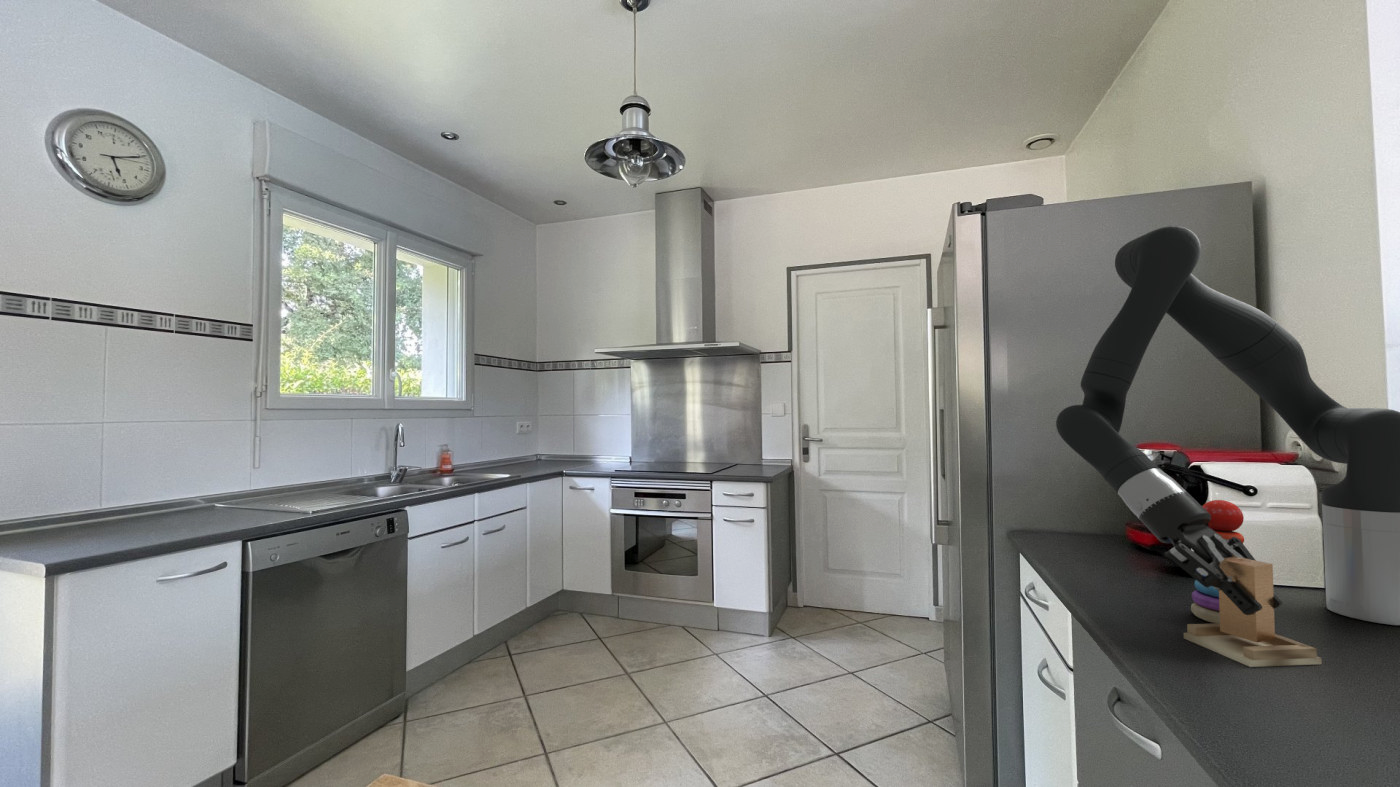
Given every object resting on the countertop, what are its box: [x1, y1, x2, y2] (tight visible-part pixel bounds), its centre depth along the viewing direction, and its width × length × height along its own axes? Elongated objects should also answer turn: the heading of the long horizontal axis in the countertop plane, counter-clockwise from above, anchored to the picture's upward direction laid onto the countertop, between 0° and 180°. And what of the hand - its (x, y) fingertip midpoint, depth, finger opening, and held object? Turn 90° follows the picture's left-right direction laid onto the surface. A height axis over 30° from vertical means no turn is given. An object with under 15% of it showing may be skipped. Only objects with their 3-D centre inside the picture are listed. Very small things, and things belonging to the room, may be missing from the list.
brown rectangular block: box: [1218, 557, 1276, 643], centre depth 76 cm, size 4×4×10 cm
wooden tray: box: [1183, 623, 1322, 668], centre depth 76 cm, size 10×9×2 cm
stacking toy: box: [1190, 499, 1245, 624], centre depth 87 cm, size 8×8×19 cm
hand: (1265, 609), depth 74 cm, fingers closed on brown rectangular block, 4 cm apart
